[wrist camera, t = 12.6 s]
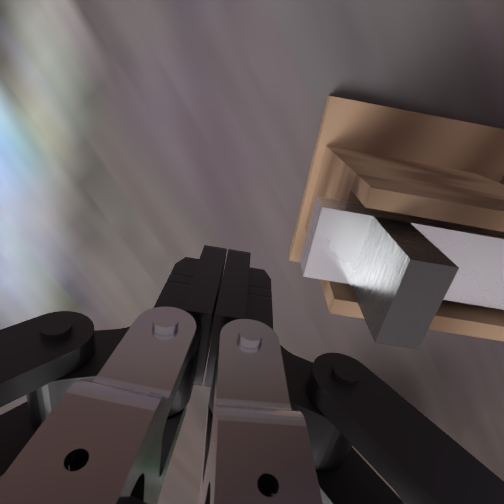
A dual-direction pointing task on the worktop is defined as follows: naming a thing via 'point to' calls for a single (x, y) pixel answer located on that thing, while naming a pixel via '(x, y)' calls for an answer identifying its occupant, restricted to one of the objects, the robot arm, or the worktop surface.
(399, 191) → the mount
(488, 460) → the worktop surface
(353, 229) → the grey angular block
